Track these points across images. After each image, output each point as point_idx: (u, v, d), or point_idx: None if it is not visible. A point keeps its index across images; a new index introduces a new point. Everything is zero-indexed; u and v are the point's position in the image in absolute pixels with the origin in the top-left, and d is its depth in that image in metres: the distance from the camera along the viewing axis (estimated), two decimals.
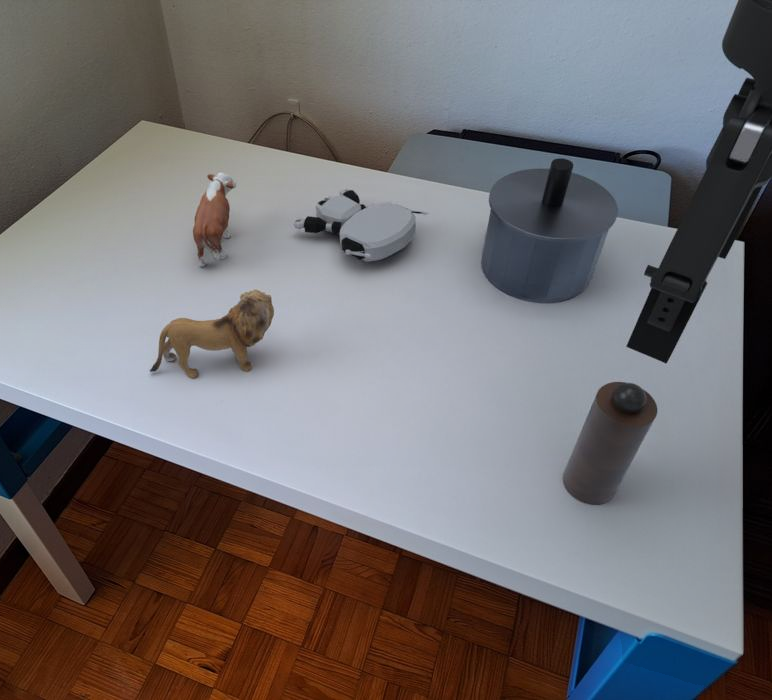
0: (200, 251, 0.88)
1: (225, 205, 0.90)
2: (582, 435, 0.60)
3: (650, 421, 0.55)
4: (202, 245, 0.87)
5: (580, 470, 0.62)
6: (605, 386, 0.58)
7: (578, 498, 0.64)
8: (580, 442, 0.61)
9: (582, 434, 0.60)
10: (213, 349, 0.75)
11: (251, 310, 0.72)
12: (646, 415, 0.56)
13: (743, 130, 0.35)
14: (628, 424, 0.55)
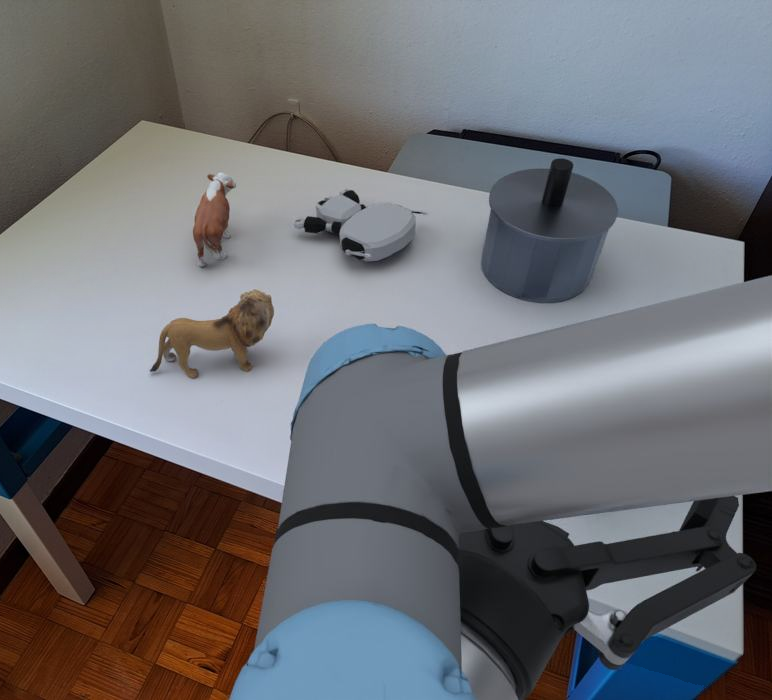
0: (200, 251, 0.88)
1: (225, 205, 0.90)
2: None
3: None
4: (202, 245, 0.87)
5: None
6: None
7: None
8: None
9: None
10: (213, 349, 0.75)
11: (251, 310, 0.72)
12: None
13: (622, 662, 0.35)
14: None
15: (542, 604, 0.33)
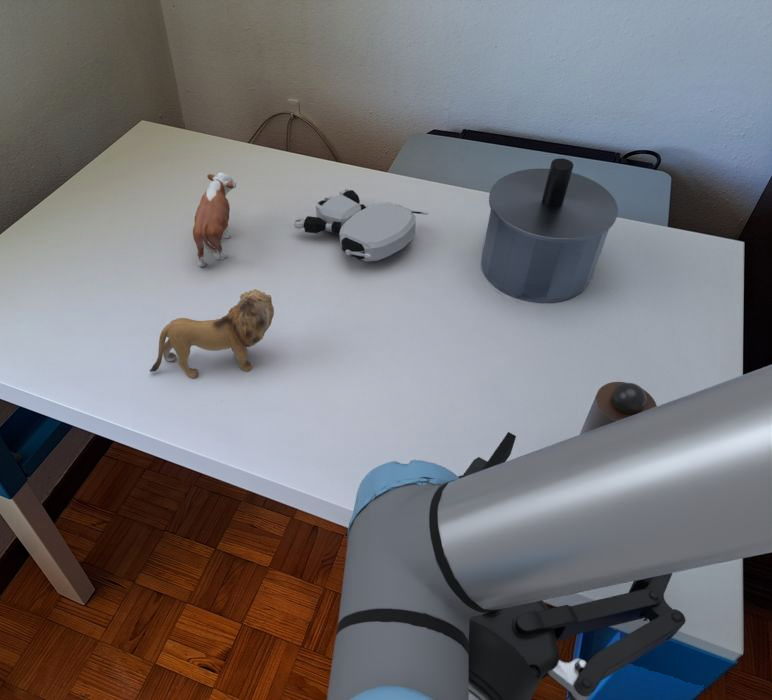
0: (200, 251, 0.88)
1: (225, 205, 0.90)
2: None
3: None
4: (202, 245, 0.87)
5: None
6: (605, 386, 0.58)
7: None
8: None
9: None
10: (213, 349, 0.75)
11: (251, 310, 0.72)
12: None
13: (585, 699, 0.46)
14: None
15: (522, 659, 0.45)
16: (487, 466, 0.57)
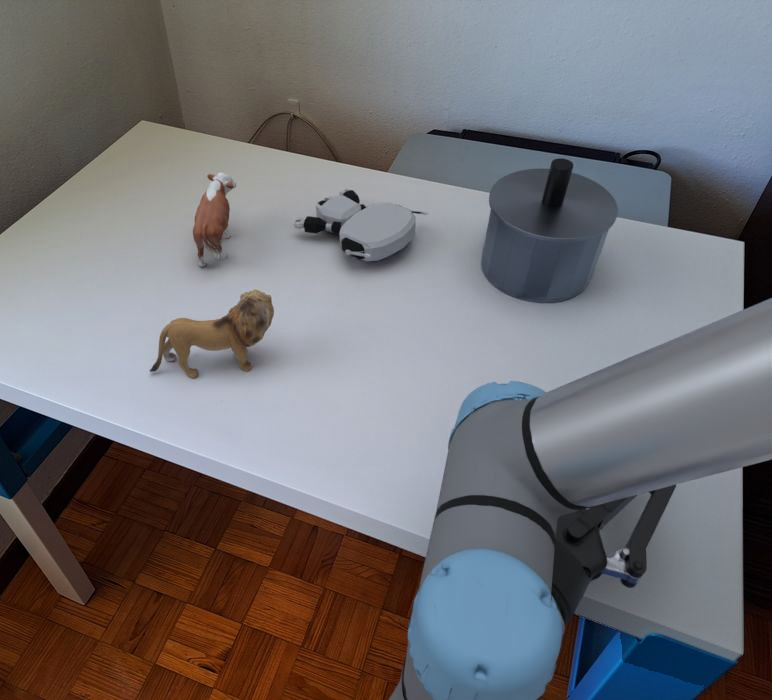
0: (200, 251, 0.88)
1: (225, 205, 0.90)
2: None
3: None
4: (202, 245, 0.87)
5: None
6: None
7: None
8: None
9: None
10: (213, 349, 0.75)
11: (251, 310, 0.72)
12: None
13: (638, 580, 0.52)
14: None
15: (576, 559, 0.50)
16: None
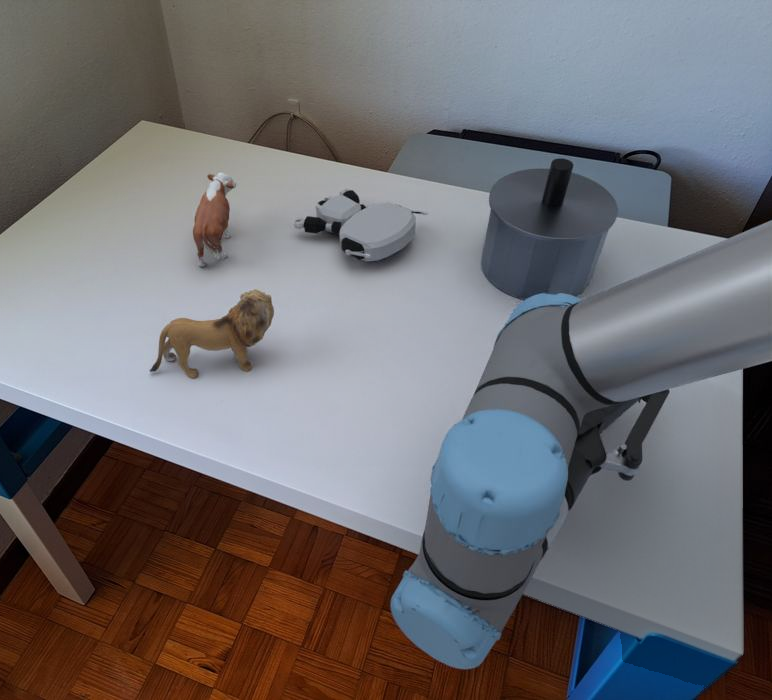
0: (200, 251, 0.88)
1: (225, 205, 0.90)
2: None
3: None
4: (202, 245, 0.87)
5: None
6: None
7: None
8: None
9: None
10: (213, 349, 0.75)
11: (251, 310, 0.72)
12: None
13: (635, 472, 0.57)
14: None
15: (578, 449, 0.54)
16: None
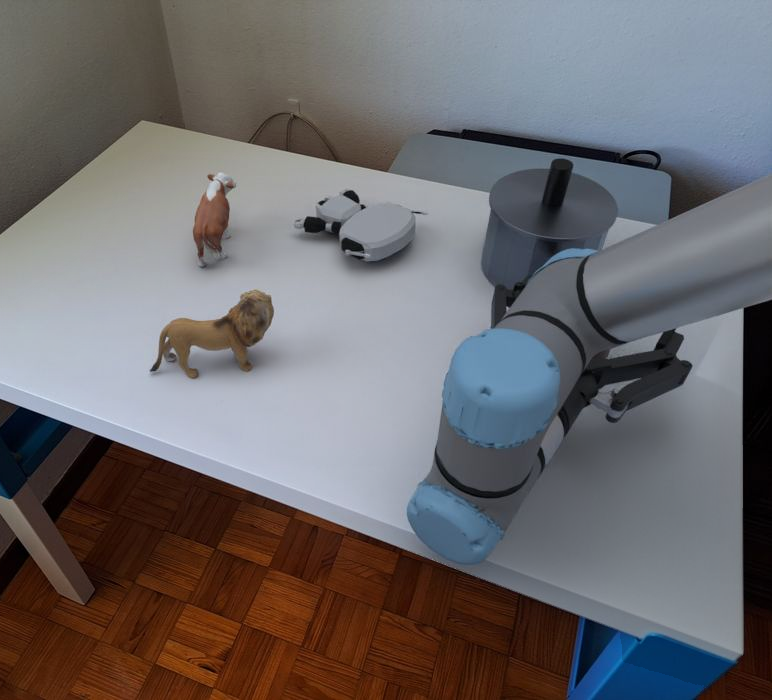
0: (200, 251, 0.88)
1: (225, 205, 0.90)
2: None
3: None
4: (202, 245, 0.87)
5: None
6: None
7: None
8: None
9: None
10: (213, 349, 0.75)
11: (251, 310, 0.72)
12: None
13: (618, 416, 0.62)
14: None
15: None
16: None
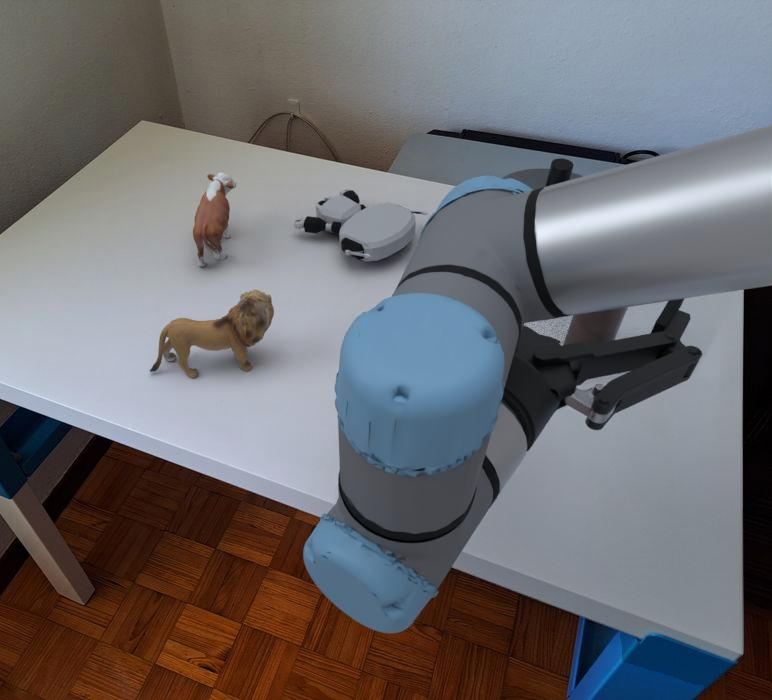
0: (200, 251, 0.88)
1: (225, 205, 0.90)
2: None
3: None
4: (202, 245, 0.87)
5: (576, 337, 0.74)
6: None
7: None
8: None
9: None
10: (213, 349, 0.75)
11: (251, 310, 0.72)
12: None
13: (603, 421, 0.46)
14: None
15: (540, 374, 0.45)
16: None
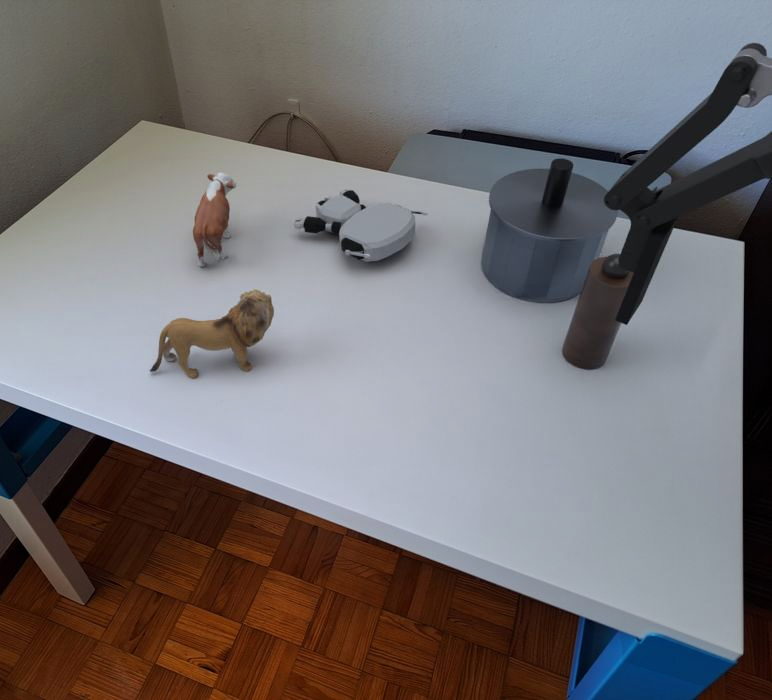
0: (200, 251, 0.88)
1: (225, 205, 0.90)
2: (578, 305, 0.72)
3: None
4: (202, 245, 0.87)
5: (576, 337, 0.74)
6: (597, 259, 0.70)
7: (575, 364, 0.76)
8: (576, 311, 0.73)
9: (578, 304, 0.72)
10: (213, 349, 0.75)
11: (251, 310, 0.72)
12: (630, 279, 0.68)
13: (738, 53, 0.32)
14: (615, 285, 0.67)
15: None
16: None
